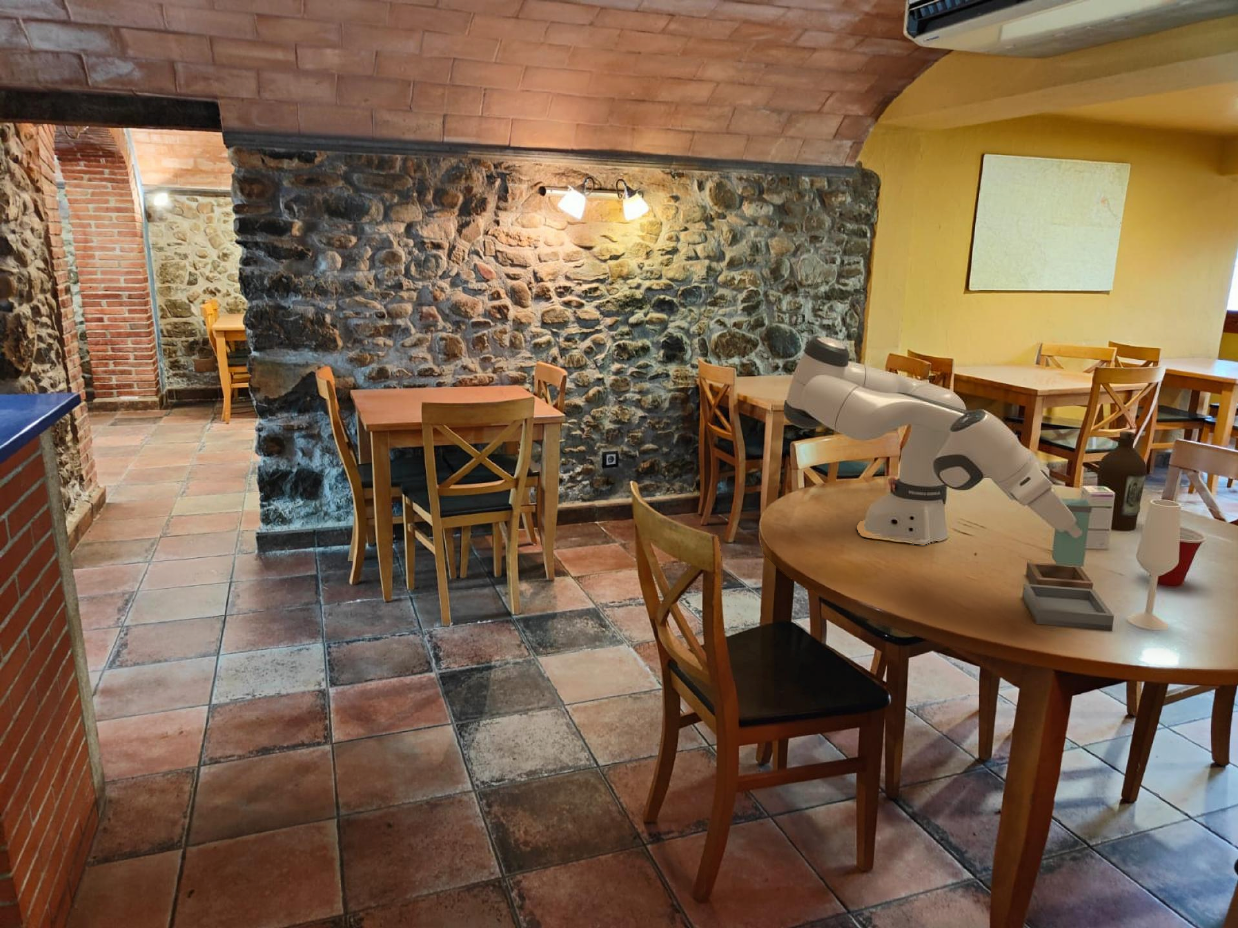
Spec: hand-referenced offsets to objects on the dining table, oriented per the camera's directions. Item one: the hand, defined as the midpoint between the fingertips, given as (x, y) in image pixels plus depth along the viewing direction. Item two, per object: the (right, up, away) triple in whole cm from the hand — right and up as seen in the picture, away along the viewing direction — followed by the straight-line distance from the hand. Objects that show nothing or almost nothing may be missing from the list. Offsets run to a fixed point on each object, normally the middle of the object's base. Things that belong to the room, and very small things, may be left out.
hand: (1074, 530), depth 151 cm
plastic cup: (+31, -13, +19) cm, 39 cm away
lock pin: (0, -6, +2) cm, 7 cm away
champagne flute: (+15, -18, +1) cm, 23 cm away
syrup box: (+29, -7, +42) cm, 52 cm away
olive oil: (+43, -4, +56) cm, 71 cm away
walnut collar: (+7, -13, +19) cm, 24 cm away
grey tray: (+1, -17, +6) cm, 18 cm away
